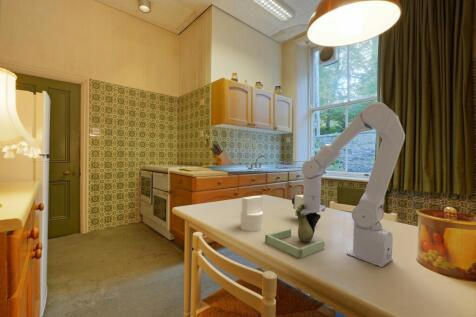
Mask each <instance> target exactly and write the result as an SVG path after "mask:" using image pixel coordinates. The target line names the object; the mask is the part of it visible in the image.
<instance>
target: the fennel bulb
mask: <svg viewBox="0 0 476 317" xmlns="http://www.w3.org/2000/svg"><path fill="white" fill-rule="evenodd" d="M302 209H305V207H304V204H301V205H300V206H298V209H297V210H296V209H295V211H296V213H297V216H296V217H297V220H298V226H297V236H298V239H299V240H300V241H301V242H303V243H304V242H305V243H306V242H310V241H311V240H313V238H314V235H313V231H312V228H311V226H310V224H309V222H308V220H307V218H306V215H304V214H303V213H302V215H301V211H302Z"/></svg>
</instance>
